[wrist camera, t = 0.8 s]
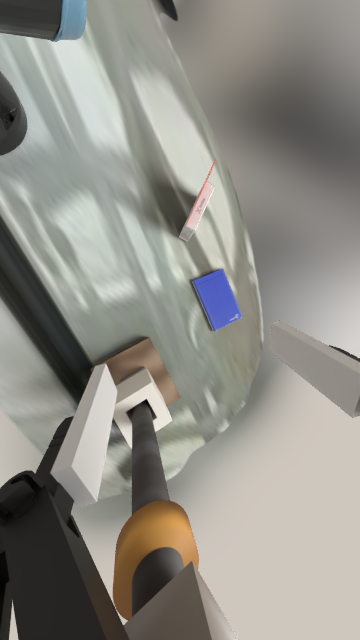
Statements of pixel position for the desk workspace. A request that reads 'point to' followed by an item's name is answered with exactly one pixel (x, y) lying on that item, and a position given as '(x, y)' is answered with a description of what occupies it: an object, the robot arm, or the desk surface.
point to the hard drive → (217, 299)
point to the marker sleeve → (134, 394)
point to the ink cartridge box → (197, 210)
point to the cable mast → (158, 532)
